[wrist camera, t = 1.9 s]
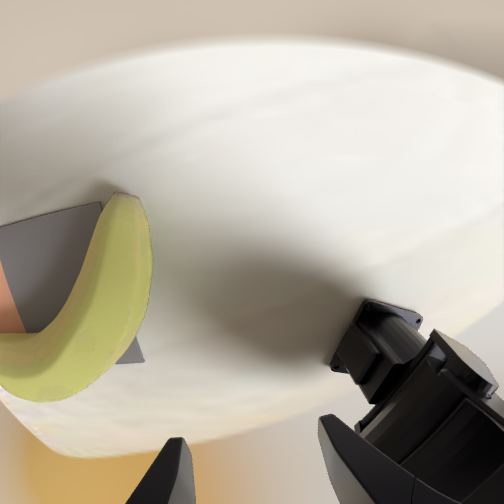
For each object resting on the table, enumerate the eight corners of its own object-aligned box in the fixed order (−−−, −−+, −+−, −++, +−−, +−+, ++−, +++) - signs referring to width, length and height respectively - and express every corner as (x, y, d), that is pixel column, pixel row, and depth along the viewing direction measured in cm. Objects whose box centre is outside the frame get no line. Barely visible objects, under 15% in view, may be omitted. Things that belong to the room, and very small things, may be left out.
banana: (158, 436, 14) (-38, 386, 15) (181, 392, 20) (-2, 368, 21) (121, 180, 14) (-66, 229, 14) (158, 194, 19) (-24, 228, 20)
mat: (100, 201, 18) (99, 202, 17) (144, 360, 21) (144, 362, 21) (-7, 229, 17) (-8, 230, 17) (43, 364, 21) (42, 365, 20)
